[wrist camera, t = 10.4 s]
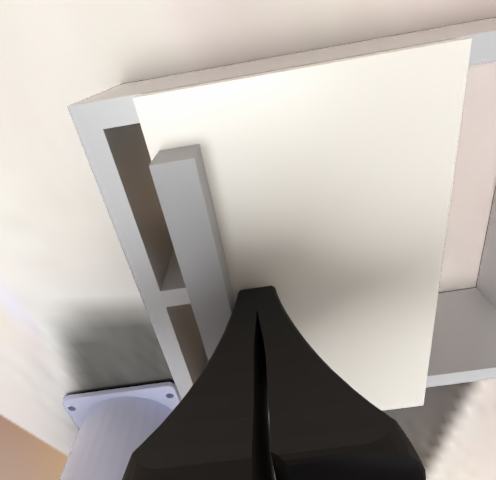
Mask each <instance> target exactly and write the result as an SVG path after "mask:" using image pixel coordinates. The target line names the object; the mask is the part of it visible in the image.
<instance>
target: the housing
mask: <svg viewBox="0 0 496 480" xmlns="http://www.w3.org/2000/svg"><path fill="white" fill-rule="evenodd" d="M457 38H472V43H471V50H470V58H469V65H468V66H472V65H478V64H484V63H489V62H495V61H496V17H494V18H488V19H483V20H477V21H472V22H466V23H460V24H455V25H449V26H444V27H438V28H433V29H427V30H421V31H416V32H410V33H405V34H399V35H394V36H388V37H382V38H377V39H371V40H366V41H360V42H354V43H349V44H343V45H338V46H332V47H327V48H321V49H315V50H310V51H304V52H299V53H293V54H287V55H282V56H276V57H271V58H265V59H260V60H254V61H248V62H243V63H237V64H232V65H226V66H221V67H215V68H209V69H204V70H198V71H193V72H187V73H181V74H176V75H170V76H165V77H159V78H154V79H148V80H142V81H137V82H131V83H126V84H120V85H118V86H115V87H113V88H111V89H108V90H106V91H103V92H101V93H99V94H96V95H94V96H91V97H89V98H86V99H84V100H82V101H79V102H77V103H74V104H72V105H70V106H67V107H68V110H69V112H70V115H71V118H72V120H73V123H74V125H75V128H76V130H77V133H78V136H79V138H80V141H81V143H82V146H83V148H84V151H85V154H86V156H87V159H88V161H89V164H90V166H91V169H92V172H93V174H94V177H95V179H96V182H97V184H98V187H99V189H100V192H101V195H102V197H103V200H104V202H105V205H106V207H107V210H108V213H109V215H110V218H111V220H112V223H113V225H114V228H115V231H116V233H117V236H118V238H119V241H120V243H121V246H122V249H123V251H124V254H125V256H126V259H127V261H128V264H129V266H130V269H131V272H132V274H133V277H134V279H135V282H136V284H137V287H138V290H139V292H140V295H141V297H142V300H143V302H144V305H145V308H146V310H147V313H148V315H149V318H150V320H151V323H152V326H153V328H154V331H155V333H156V336H157V338H158V341H159V343H160V346H161V349H162V351H163V354H164V356H165V359H166V361H167V364H168V367H169V369H170V372H171V374H172V377H173V379H174V382H175V385H176V387H177V390H178V392H179V395H180V397H181V400H182V399H183V398H184V396H185V395H186V394H187V392H188V391H189V390H190V388H191V387H192V385H193V384H194V383H195V381H196V380H197V378H198V377H199V376H200V374H201V372H202V371H203V369H204V368H205V366H206V365H207V363H208V358H207V355H206V352H205V348H204V345H203V342H202V339H201V335H200V332H199V329H198V325H197V322H196V319H195V316H194V312H193V309H192V306H191V303H190V299H189V296H188V293H187V289H186V286H185V283H184V280H183V276H182V273H181V270H180V267H179V263H178V260H177V257H176V254H175V250H174V247H173V244H172V240H171V237H170V234H169V231H168V227H167V224H166V221H165V218H164V214H163V211H162V208H161V205H160V201H159V198H158V195H157V191H156V188H155V185H154V182H153V178H152V175H151V172H150V169H149V165H150V163H151V162H152V161H151V158H150V155H149V151H148V148H147V145H146V141H145V138H144V135H143V131H142V128H141V125H140V121H139V118H138V115H137V111H136V108H135V105H134V101H133V98H134V97H135V96H137V95H141V94H146V93H152V92H158V91H163V90H169V89H175V88H180V87H186V86H192V85H197V84H203V83H208V82H214V81H220V80H225V79H231V78H237V77H242V76H248V75H254V74H259V73H265V72H271V71H276V70H282V69H287V68H293V67H299V66H304V65H310V64H316V63H321V62H327V61H333V60H338V59H344V58H350V57H355V56H361V55H367V54H372V53H378V52H383V51H389V50H395V49H400V48H406V47H412V46H417V45H423V44H429V43H434V42H440V41H446V40H451V39H457ZM495 378H496V189H495V194H494V199H493V204H492V209H491V214H490V219H489V224H488V229H487V234H486V240H485V245H484V250H483V255H482V260H481V265H480V270H479V275H478V280H477V285H476V288H470V289H463V290H455V291H448V292H441V293H438V299H437V306H436V314H435V321H434V329H433V336H432V344H431V351H430V359H429V366H428V374H427V381H426V387H433V386H440V385H448V384H456V383H464V382H472V381H480V380H487V379H495Z"/></svg>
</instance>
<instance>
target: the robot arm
mask: <svg viewBox="0 0 496 480" xmlns="http://www.w3.org/2000/svg"><path fill="white" fill-rule="evenodd" d="M62 405H63V406H64V408H65V409H66V411H67V412H68V414H69V415H70V417H71V418H72V420H73V421H74V423H75V424H76V426H77V428H78V429H79V432H78V434H77V437H76V439H75V442H74V444H73V447H72V449H71V452H70V454H69V457H68V459H67V462H66V465H65V467H64V469H63V472H62V475H61V477H60V479H59V480H275V478H274V471H275V475H276V480H426V475H425V469H424V466H423V464H422V462H421V460H420V458H419V456H418V454H417V452H416V451H415V449H414V447H413V445H412V444H411V442H410V441H409V439H408V437H407V436H406V434H405V433H404V431H403V430H402V429H401V427H400V426H399V424H398V423H397V422H396V420H394V419H393V418H391V417H390V416H388V415H387V414H386V413H384V412H383V411H381V410H380V409H379V408H377V407H376V406H374V405H373V404H372V403H370V402H369V401H368V400H367V399H365V398H364V397H363V396H362V395H360V394H359V393H358V392H357V391H355V390H354V389H353V388H352V387H351V386H350V385H349V384H347V383H346V382H345V381H344V380H343V379H342V378H341V377H340V376H339V375H337V374H336V373H335V372H334V371H333V370H332V369H331V368H330V367H329V366H328V365H327V364H326V363H325V362H324V361H323V360H322V359H321V357H320V356H319V355H318V354H317V353H316V352H315V351H314V350H313V348H312V347H311V346H310V345H309V344H308V342H307V341H306V340H305V339H304V337H303V336H302V335H301V333H300V332H299V331H298V329H297V328H296V326H295V325H294V323H293V322H292V320H291V319H290V317H289V316H288V314H287V312H286V311H285V309H284V307H283V305H282V303H281V302H280V299H279V297H278V295H277V292H276V289H275V287H273V286H265V287H258V288H251V289H244V290H240V291H239V292H238V295H237V299H236V303H235V306H234V309H233V311H232V314H231V317H230V319H229V321H228V324H227V326H226V328H225V331H224V333H223V335H222V337H221V339H220V341H219V343H218V345H217V347H216V349H215V351H214V353H213V354H212V356H211V358H210V360H209V361H208V363H207V365H206V366H205V368H204V369H203V371H202V372H201V374H200V376H199V377H198V378H197V380H196V381H195V383H194V384H193V385H192V387H191V388H190V390H189V391H188V392H187V394H186V395H185V396H184V398H183V399H182V400H181V398H180V396H179V393H178V391H177V388H176V386H175V384H173V383H171V382H163V383H156V384H148V385H141V386H133V387H126V388H118V389H111V390H103V391H96V392H88V393H81V394H73V395H67V396H65V397H64V399H63V401H62ZM269 428H270V429H269ZM273 466H274V469H273Z"/></svg>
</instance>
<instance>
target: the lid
mask: <svg viewBox="0 0 496 480" xmlns="http://www.w3.org/2000/svg"><path fill="white" fill-rule="evenodd" d="M471 43H472V38H457V39H451V40H446V41H440V42H434V43H429V44H423V45H417V46H412V47H406V48H400V49H395V50H389V51H383V52H378V53H372V54H367V55H361V56H355V57H350V58H344V59H338V60H333V61H327V62H321V63H316V64H310V65H304V66H299V67H293V68H287V69H282V70H276V71H271V72H265V73H259V74H254V75H248V76H242V77H237V78H231V79H225V80H220V81H214V82H208V83H203V84H197V85H192V86H186V87H180V88H175V89H169V90H163V91H158V92H152V93H146V94H141V95H137V96H135V97H134V98H133V101H134V105H135V108H136V111H137V115H138V118H139V121H140V125H141V128H142V131H143V135H144V138H145V141H146V145H147V148H148V151H149V155H150V158H151V161H152V162H151V163H150V165H149V169H150V172H151V175H152V178H153V182H154V185H155V188H156V191H157V195H158V198H159V201H160V205H161V208H162V211H163V214H164V218H165V221H166V224H167V227H168V231H169V234H170V237H171V240H172V244H173V247H174V250H175V254H176V257H177V260H178V263H179V267H180V270H181V273H182V276H183V280H184V283H185V286H186V289H187V293H188V296H189V299H190V303H191V306H192V309H193V312H194V316H195V319H196V322H197V325H198V329H199V332H200V335H201V339H202V342H203V345H204V348H205V352H206V355H207V358H208V361H209V360H210V358H211V356H212V354H213V353H214V351H215V349H216V347H217V345H218V343H219V341H220V339H221V337H222V335H223V333H224V331H225V328H226V326H227V324H228V321H229V319H230V317H231V314H232V311H233V309H234V306H235V303H236V299H237V295H238V292H239V291H240V290H244V289H251V288H258V287H265V286H273V287H275V289H276V292H277V295H278V297H279V299H280V302H281V303H282V305H283V307H284V309H285V311H286V312H287V314H288V316H289V317H290V319H291V320H292V322H293V323H294V325H295V326H296V328H297V329H298V331H299V332H300V333H301V335H302V336H303V337H304V339H305V340H306V341H307V342H308V344H309V345H310V346H311V347H312V348H313V350H314V351H315V352H316V353H317V354H318V355H319V356H320V357H321V359H322V360H323V361H324V362H325V363H326V364H327V365H328V366H329V367H330V368H331V369H332V370H333V371H334V372H335V373H336V374H337V375H339V376H340V377H341V378H342V379H343V380H344V381H345V382H346V383H347V384H349V385H350V386H351V387H352V388H353V389H354V390H355V391H357V392H358V393H359V394H360V395H362V396H363V397H364V398H365V399H367V400H368V401H369V402H370V403H372V404H373V405H374V406H376V407H377V408H379V409H380V410H381V411H382V410H390V409H398V408H406V407H414V406H422V405H423V404H424V397H425V389H426V381H427V374H428V366H429V359H430V351H431V344H432V336H433V329H434V321H435V314H436V306H437V299H438V291H439V284H440V276H441V269H442V261H443V253H444V246H445V238H446V231H447V223H448V216H449V208H450V201H451V193H452V186H453V178H454V171H455V163H456V156H457V148H458V140H459V133H460V125H461V118H462V110H463V103H464V95H465V88H466V80H467V73H468V65H469V58H470V50H471Z"/></svg>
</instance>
